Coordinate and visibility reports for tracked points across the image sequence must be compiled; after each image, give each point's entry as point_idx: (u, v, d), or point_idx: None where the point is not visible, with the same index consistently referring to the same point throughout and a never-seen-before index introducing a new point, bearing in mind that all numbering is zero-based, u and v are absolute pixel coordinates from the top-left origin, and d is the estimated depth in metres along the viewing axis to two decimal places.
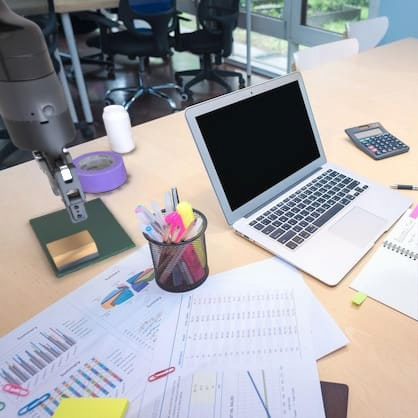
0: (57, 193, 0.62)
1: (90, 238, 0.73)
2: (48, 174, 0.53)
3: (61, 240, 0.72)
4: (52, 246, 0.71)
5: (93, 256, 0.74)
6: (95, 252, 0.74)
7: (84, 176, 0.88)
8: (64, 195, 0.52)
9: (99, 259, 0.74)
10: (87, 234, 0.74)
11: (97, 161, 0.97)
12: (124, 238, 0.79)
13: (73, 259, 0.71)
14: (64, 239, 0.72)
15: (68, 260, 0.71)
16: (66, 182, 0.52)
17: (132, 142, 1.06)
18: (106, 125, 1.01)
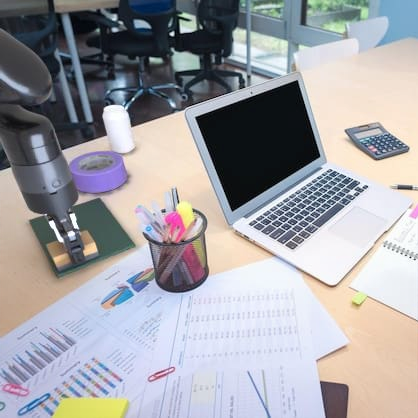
0: None
1: (90, 238, 0.73)
2: (56, 231, 0.66)
3: None
4: (52, 246, 0.71)
5: (93, 256, 0.74)
6: (95, 252, 0.74)
7: (84, 176, 0.88)
8: (68, 250, 0.66)
9: (99, 259, 0.74)
10: (87, 234, 0.74)
11: (97, 161, 0.97)
12: (124, 238, 0.79)
13: None
14: None
15: (68, 260, 0.71)
16: (71, 241, 0.65)
17: (132, 142, 1.06)
18: (106, 125, 1.01)
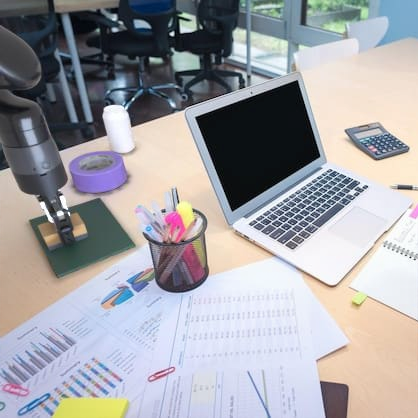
0: None
1: (80, 220, 0.77)
2: (46, 212, 0.70)
3: None
4: (43, 227, 0.75)
5: (83, 237, 0.78)
6: (84, 233, 0.77)
7: (84, 176, 0.88)
8: (58, 229, 0.70)
9: (99, 259, 0.74)
10: (77, 216, 0.78)
11: (97, 161, 0.97)
12: (124, 238, 0.79)
13: None
14: None
15: (58, 240, 0.75)
16: (60, 221, 0.69)
17: (132, 142, 1.06)
18: (106, 125, 1.01)
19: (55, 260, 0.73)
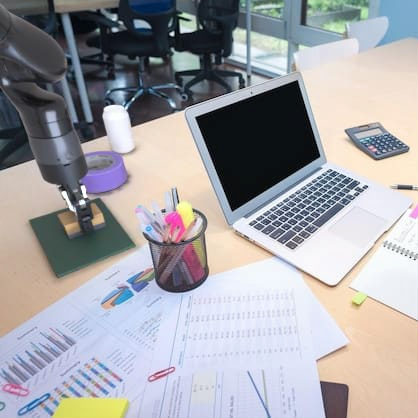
0: None
1: (98, 209, 0.80)
2: (68, 201, 0.73)
3: (71, 211, 0.79)
4: (63, 216, 0.78)
5: (100, 226, 0.81)
6: (102, 222, 0.81)
7: None
8: (79, 217, 0.73)
9: (99, 259, 0.74)
10: (95, 206, 0.81)
11: (97, 161, 0.97)
12: (124, 238, 0.79)
13: None
14: None
15: (78, 229, 0.78)
16: (82, 209, 0.72)
17: (132, 142, 1.06)
18: (106, 125, 1.01)
19: (55, 260, 0.73)
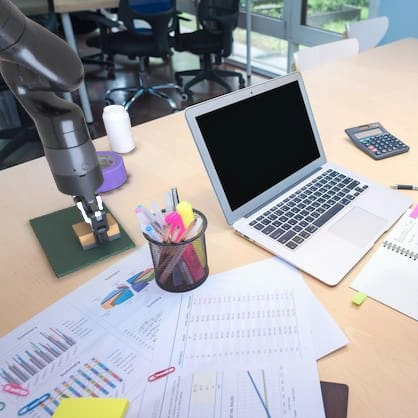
0: None
1: (113, 220, 0.78)
2: (83, 212, 0.71)
3: None
4: (77, 227, 0.75)
5: (115, 237, 0.78)
6: (117, 233, 0.78)
7: None
8: (95, 229, 0.71)
9: (99, 259, 0.74)
10: (110, 216, 0.79)
11: None
12: (124, 238, 0.79)
13: None
14: None
15: (93, 240, 0.75)
16: (97, 221, 0.70)
17: (132, 142, 1.06)
18: (106, 125, 1.01)
19: (55, 260, 0.73)
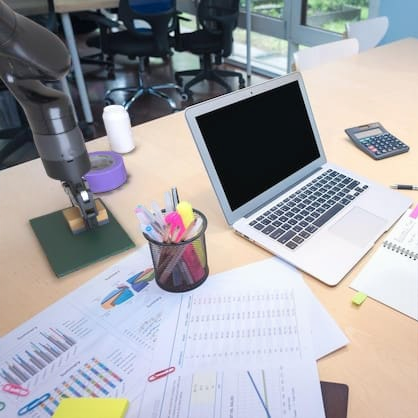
0: None
1: (101, 206, 0.81)
2: (71, 196, 0.74)
3: (75, 207, 0.80)
4: (67, 212, 0.79)
5: (104, 222, 0.82)
6: (105, 218, 0.82)
7: (84, 176, 0.88)
8: (83, 212, 0.73)
9: (99, 259, 0.74)
10: (99, 202, 0.82)
11: (97, 161, 0.97)
12: (124, 238, 0.79)
13: None
14: None
15: (82, 224, 0.79)
16: (85, 202, 0.72)
17: (132, 142, 1.06)
18: (106, 125, 1.01)
19: (55, 260, 0.73)
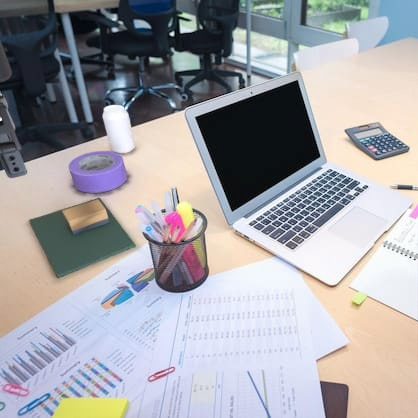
0: None
1: (101, 206, 0.81)
2: None
3: (75, 207, 0.80)
4: (67, 212, 0.79)
5: (104, 222, 0.82)
6: (105, 218, 0.82)
7: (84, 176, 0.88)
8: None
9: (99, 259, 0.74)
10: (99, 202, 0.82)
11: (97, 161, 0.97)
12: (124, 238, 0.79)
13: (86, 224, 0.79)
14: (78, 206, 0.80)
15: (82, 224, 0.79)
16: None
17: (132, 142, 1.06)
18: (106, 125, 1.01)
19: (55, 260, 0.73)
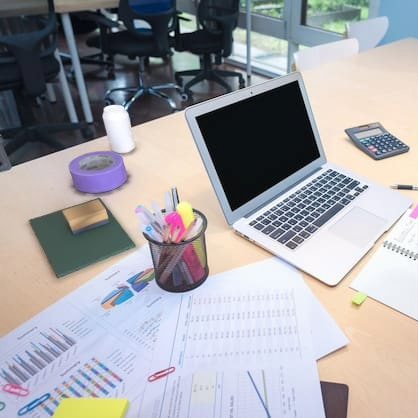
0: None
1: (101, 206, 0.81)
2: None
3: (75, 207, 0.80)
4: (67, 212, 0.79)
5: (104, 222, 0.82)
6: (105, 218, 0.82)
7: (84, 176, 0.88)
8: None
9: (99, 259, 0.74)
10: (99, 202, 0.82)
11: (97, 161, 0.97)
12: (124, 238, 0.79)
13: (86, 224, 0.79)
14: (78, 206, 0.80)
15: (82, 224, 0.79)
16: None
17: (132, 142, 1.06)
18: (106, 125, 1.01)
19: (55, 260, 0.73)
